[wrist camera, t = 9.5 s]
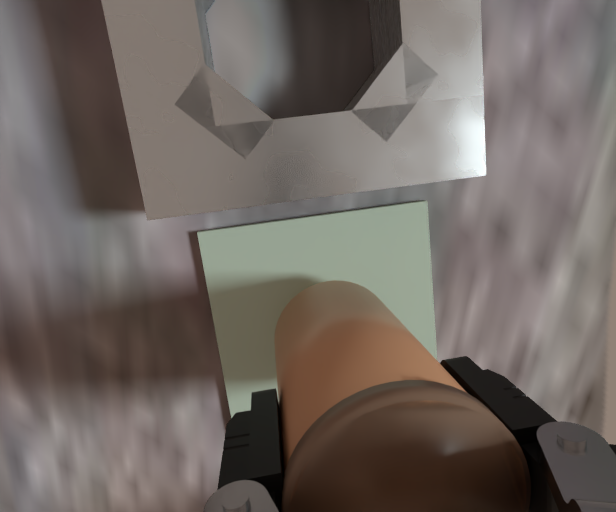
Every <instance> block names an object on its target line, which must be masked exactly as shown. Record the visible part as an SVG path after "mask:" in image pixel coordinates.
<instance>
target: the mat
mask: <svg viewBox="0 0 616 512" xmlns="http://www.w3.org/2000/svg"><path fill="white" fill-rule="evenodd" d="M197 235H198V241H199V246H200V251H201V257H202V262H203V268H204V273H205V279H206V284H207V289H208V295H209V300H210V306H211V311H212V317H213V322H214V327H215V333H216V338H217V344H218V349H219V355H220V360H221V365H222V371H223V376H224V382H225V387H226V393H227V398H228V403H229V409H230V414H231V418H232V417H233V416H234V414H235V413H237V412H243V411H249V410H251V394H252V392H257V391H262V390H268V389H274V388H276V391H277V396H278V386H277V372H276V358H275V343H274V338H275V329H276V325H277V322H278V319H279V317H280V315H281V313H282V311H283V310H284V308H285V307H286V305H287V304H288V303H289V302H290V301H291V299H293V298H294V297H295V296H296V295H297V294H298V293H300V292H301V291H303V290H304V289H306V288H308V287H310V286H312V285H315V284H318V283H321V282H326V281H334V280H337V281H348V282H352V283H356V284H359V285H361V286H363V287H365V288H367V289H368V290H370V291H371V292H372V293H374V294H375V295H376V296H377V297H378V298H379V299H380V300H381V301H382V302H383V303H384V304H385V305H386V307H387V308H388V309H389V310H390V311H391V312H392V313H393V314H394V315H395V316H396V317H397V318H398V319H399V320H400V321H401V323H402V324H403V325H404V326H405V327H406V328H407V329H408V330H409V331H410V332H411V333H412V334H413V335H414V336H415V338H416V339H417V340H418V341H419V342H420V343H421V344H422V345H423V346H424V347H425V348H426V349H427V350H428V351H429V353H430V354H431V355H432V356H433V357H434V358H435V359H436V360H437V349H436V333H435V317H434V301H433V285H432V269H431V253H430V237H429V221H428V205H427V201H425V200H422V201H415V202H408V203H400V204H393V205H386V206H379V207H371V208H364V209H357V210H349V211H342V212H335V213H328V214H320V215H313V216H306V217H298V218H291V219H284V220H277V221H269V222H262V223H255V224H247V225H240V226H233V227H226V228H218V229H211V230H204V231H198V232H197ZM278 403H279V400H278Z"/></svg>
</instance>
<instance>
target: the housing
mask: <svg viewBox="0 0 616 512" xmlns="http://www.w3.org/2000/svg"><path fill="white" fill-rule="evenodd" d="M101 1H102V6H103V11H104V16H105V20H106V25H107V30H108V35H109V40H110V44H111V49H112V54H113V59H114V63H115V68H116V73H117V78H118V83H119V87H120V92H121V97H122V102H123V107H124V111H125V116H126V121H127V126H128V131H129V135H130V140H131V145H132V150H133V154H134V159H135V164H136V169H137V174H138V178H139V183H140V188H141V193H142V198H143V202H144V207H145V212H146V217H147V220H155V219H162V218H170V217H177V216H185V215H192V214H200V213H207V212H215V211H222V210H229V209H237V208H244V207H252V206H259V205H267V204H274V203H282V202H289V201H297V200H304V199H312V198H319V197H327V196H334V195H342V194H349V193H357V192H364V191H372V190H379V189H387V188H394V187H401V186H409V185H416V184H424V183H431V182H439V181H446V180H454V179H461V178H469V177H476V176H484V175H486V158H485V126H484V95H483V63H482V31H481V0H369V11H370V23H371V35H372V47H373V59H374V71H373V72H372V74H371V75H370V76H369V78H368V79H367V80H366V82H365V83H364V84H363V86H362V87H361V88H360V90H359V91H358V92H357V94H356V95H355V96H354V98H353V99H352V100H351V102H350V103H349V104H348V106H347V107H346V108H345V109H344V111H342V112H333V113H325V114H316V115H308V116H299V117H290V118H282V119H272V118H270V117H269V116H268V115H267V114H265V113H264V112H263V111H262V110H261V109H259V108H258V107H257V106H256V105H254V104H253V103H252V102H251V101H249V100H248V99H247V98H246V97H245V96H243V95H242V94H241V93H240V92H238V91H237V90H236V89H235V88H234V87H232V86H231V85H230V84H229V83H227V82H226V81H225V80H224V79H222V78H221V77H220V76H219V75H218V74H216V73H215V71H214V65H213V59H212V53H211V46H210V40H209V34H208V28H207V22H206V15H205V13H206V12H207V10H208V9H209V8H210V6H211V5H212V3H213V2H214V0H101Z"/></svg>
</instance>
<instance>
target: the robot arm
mask: <svg viewBox="0 0 616 512" xmlns="http://www.w3.org/2000/svg"><path fill="white" fill-rule="evenodd" d="M440 364H441V365H442V366H443V367H444V369H445V370H446V371H447V372H448V373H449V374H450V375H451V376H452V377H453V378H454V379H455V380H456V381H457V382H458V384H459V385H460V386H461V387H462V388H463V389H464V390H465V391H466V392H467V393H468V394H470V395H471V396H473V397H474V398H476V399H478V400H479V401H480V402H481V403H482V404H484V405H485V406H486V407H487V408H488V409H489V410H490V411H491V412H492V413H493V414H494V415H495V416H496V417H497V418H498V419H499V420H500V421H501V422H502V423H503V424H504V425H505V427H506V428H507V429H508V430H509V431H510V432H511V433H512V435H513V436H514V437H515V439H516V440H517V442H518V444H519V445H520V447H521V449H522V451H523V453H524V456H525V458H526V461H527V465H528V469H529V473H530V482H531V497H530V506H529V511H528V512H616V445H611V444H608V443H607V442H606V440H605V439H604V438H603V437H602V436H601V435H599V434H598V433H596V432H595V431H593V430H591V429H589V428H587V427H585V426H582V425H579V424H575V423H570V422H557V421H556V420H555V419H554V418H553V417H551V416H550V415H549V414H548V413H547V412H546V411H544V410H543V409H542V408H541V407H540V406H538V405H537V404H536V403H535V402H534V401H533V400H531V399H530V398H529V397H526V395H525V394H524V393H523V392H522V391H521V390H520V389H518V388H517V389H516V386H515V385H514V384H512V383H511V382H510V381H509V380H508V379H506V378H505V377H504V376H502V375H499V374H497V373H495V372H493V371H490V370H488V369H487V370H482V369H481V368H480V367H479V366H477V365H476V364H475V363H474V362H473V361H472V360H471V359H470V358H468V357H467V356H464V357H458V358H452V359H446V360H442V361H441V363H440ZM223 449H224V451H223V455H222V462H221V469H220V476H219V483H218V490H217V491H216V492H215V493H214V494H213V495H212V496H211V497H210V498H209V500H208V501H207V503H206V505H205V508H204V511H203V512H281V501H282V490H283V477H284V469H283V455H282V441H281V427H280V413H279V403H278V396H277V391H276V388H274V389H268V390H262V391H257V392H252V394H251V410H249V411H243V412H237V413H235V414H234V416H233V417H232V418H231V420H230V421H229V423H228V424H227V426H226V434H225V441H224V448H223Z"/></svg>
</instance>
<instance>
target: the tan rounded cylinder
mask: <svg viewBox="0 0 616 512" xmlns="http://www.w3.org/2000/svg"><path fill="white" fill-rule="evenodd" d="M274 343H275V358H276V372H277V386H278V400H279V413H280V427H281V441H282V455H283V469H284V477H283V490H282V501H281V512H528V511H529V506H530V497H531V482H530V473H529V469H528V465H527V461H526V458H525V456H524V453H523V451H522V449H521V447H520V445H519V444H518V442H517V440H516V439H515V437H514V436H513V435H512V433H511V432H510V431H509V430H508V429H507V428H506V427H505V425H504V424H503V423H502V422H501V421H500V420H499V419H498V418H497V417H496V416H495V415H494V414H493V413H492V412H491V411H490V410H489V409H488V408H487V407H486V406H485V405H484V404H482V403H481V402H480V401H479V400H478V399H476V398H474V397H473V396H471V395H470V394H468V393H467V392H466V391H465V390H464V389H463V388H462V387H461V386H460V385H459V384H458V382H457V381H456V380H455V379H454V378H453V377H452V376H451V375H450V374H449V373H448V372H447V371H446V370H445V369H444V367H443V366H442V365H441V364H440V363H439V362H438V361H437V360H436V359H435V358H434V357H433V356H432V355H431V354H430V353H429V351H428V350H427V349H426V348H425V347H424V346H423V345H422V344H421V343H420V342H419V341H418V340H417V339H416V338H415V336H414V335H413V334H412V333H411V332H410V331H409V330H408V329H407V328H406V327H405V326H404V325H403V324H402V323H401V321H400V320H399V319H398V318H397V317H396V316H395V315H394V314H393V313H392V312H391V311H390V310H389V309H388V308H387V307H386V305H385V304H384V303H383V302H382V301H381V300H380V299H379V298H378V297H377V296H376V295H375V294H374V293H372V292H371V291H370V290H368V289H367V288H365V287H363V286H361V285H359V284H356V283H352V282H348V281H337V280H334V281H326V282H321V283H318V284H315V285H312V286H310V287H308V288H306V289H304V290H303V291H301V292H300V293H298V294H297V295H296V296H295V297H294V298H293V299H291V301H290V302H289V303H288V304H287V305H286V307H285V308H284V310H283V311H282V313H281V315H280V317H279V319H278V322H277V325H276V329H275V338H274Z"/></svg>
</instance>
